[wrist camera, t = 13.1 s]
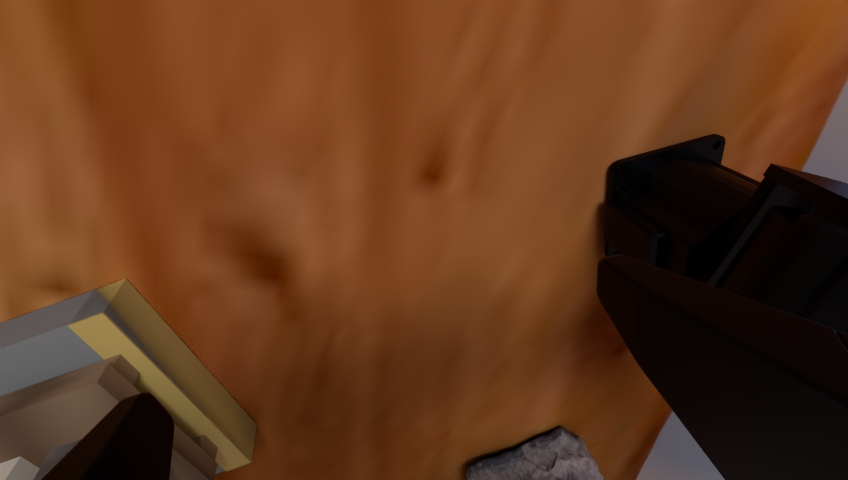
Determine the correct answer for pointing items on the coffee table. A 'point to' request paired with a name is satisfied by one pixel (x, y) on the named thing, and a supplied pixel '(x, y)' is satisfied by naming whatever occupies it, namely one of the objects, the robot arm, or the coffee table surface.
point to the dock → (142, 347)
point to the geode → (541, 461)
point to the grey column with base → (84, 419)
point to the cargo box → (18, 469)
